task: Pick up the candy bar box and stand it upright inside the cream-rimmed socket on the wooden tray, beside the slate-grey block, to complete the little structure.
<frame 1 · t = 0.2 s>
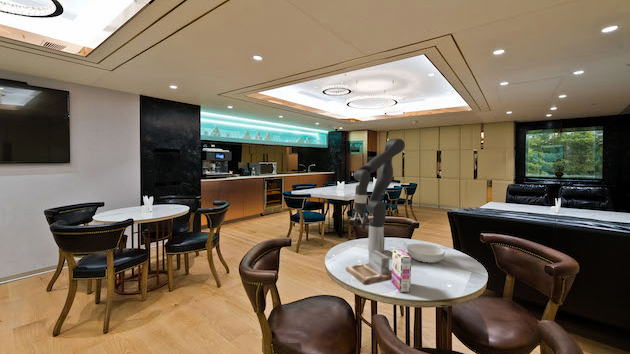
hand: (359, 227, 163), 17 cm above the table, tool pointing down, fingers open, 8 cm apart
serving bowl: (425, 260, 158), on the table
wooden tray: (370, 273, 137), on the table
candy bar box: (400, 287, 124), on the table
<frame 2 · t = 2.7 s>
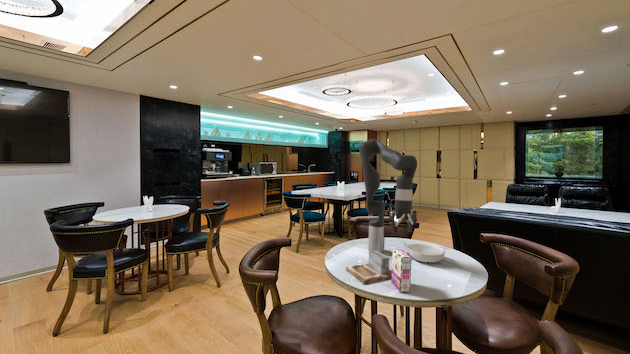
hand: (402, 233, 122), 26 cm above the table, tool pointing down, fingers open, 8 cm apart
nothing on the table moved.
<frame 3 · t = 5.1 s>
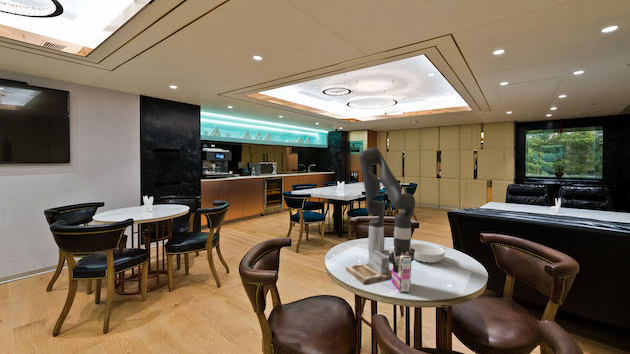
hand: (401, 271, 123), 8 cm above the table, tool pointing down, fingers closed on candy bar box, 6 cm apart
candy bar box: (400, 287, 124), on the table, touching gripper
everything else where it was.
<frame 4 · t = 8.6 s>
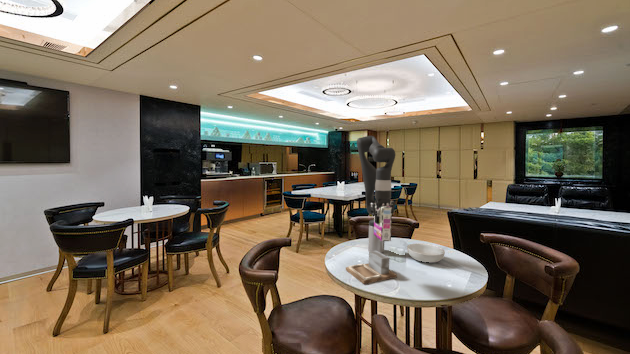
hand: (382, 222, 129), 29 cm above the table, tool pointing down, fingers closed on candy bar box, 6 cm apart
candy bar box: (382, 238, 130), point 21 cm above the table, touching gripper
everything else where it was.
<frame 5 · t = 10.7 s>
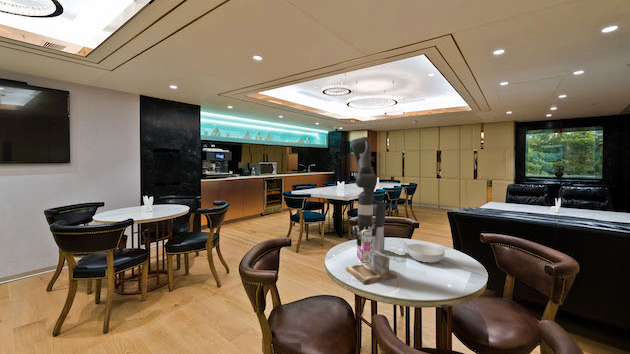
hand: (364, 245, 135), 16 cm above the table, tool pointing down, fingers closed on candy bar box, 6 cm apart
candy bar box: (363, 259, 135), point 8 cm above the table, touching gripper
everything else where it was.
when the fingers open (10 cm above the table, at t = 12.3 s): candy bar box stays where it is, resting on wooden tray.
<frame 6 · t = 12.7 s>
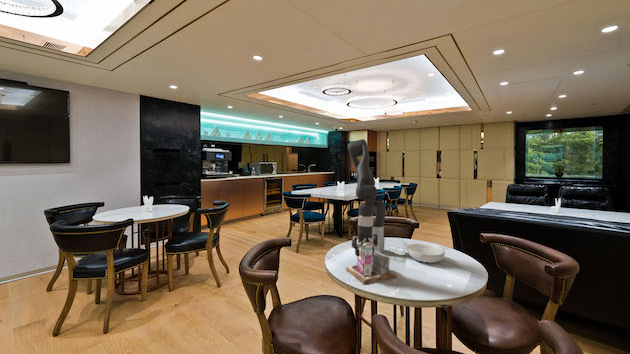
hand: (364, 254, 135), 11 cm above the table, tool pointing down, fingers open, 8 cm apart
candy bar box: (364, 272, 136), point 1 cm above the table, touching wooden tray
everything else where it was.
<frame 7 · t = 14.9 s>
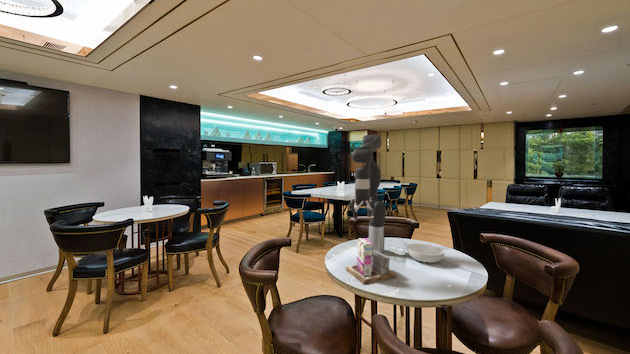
hand: (362, 217, 139), 29 cm above the table, tool pointing down, fingers open, 8 cm apart
nothing on the table moved.
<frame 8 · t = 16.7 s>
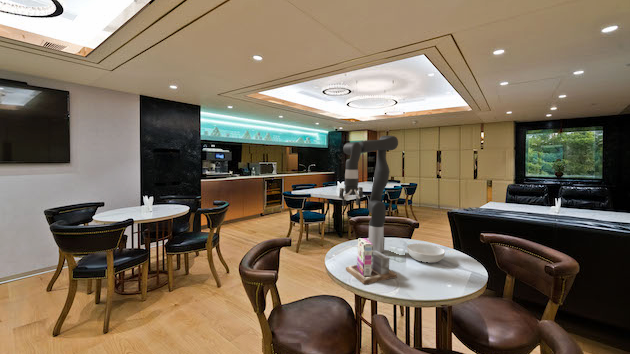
hand: (350, 205, 151), 33 cm above the table, tool pointing down, fingers open, 8 cm apart
nothing on the table moved.
at the end: candy bar box 0.2 cm from the target spot on the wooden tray, point 1.3 cm above the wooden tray's base; candy bar box tilted 0°; the gripper is holding nothing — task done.
